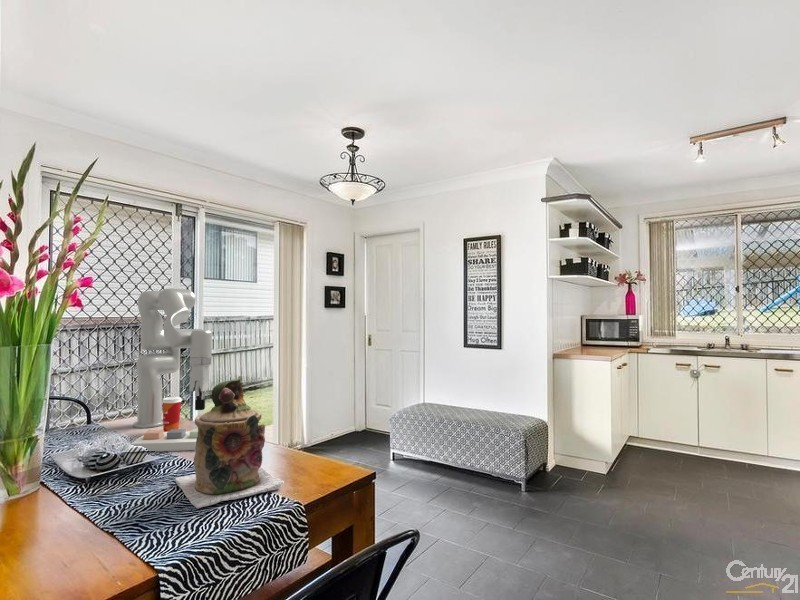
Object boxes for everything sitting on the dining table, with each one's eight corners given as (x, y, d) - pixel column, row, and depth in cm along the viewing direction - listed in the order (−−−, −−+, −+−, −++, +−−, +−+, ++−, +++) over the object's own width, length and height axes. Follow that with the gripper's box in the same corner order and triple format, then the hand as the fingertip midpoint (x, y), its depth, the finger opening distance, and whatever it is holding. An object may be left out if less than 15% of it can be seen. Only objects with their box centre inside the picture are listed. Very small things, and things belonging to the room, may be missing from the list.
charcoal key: (171, 435, 173) (171, 429, 173) (185, 435, 174) (185, 428, 174) (166, 439, 168) (166, 432, 168) (181, 438, 169) (181, 432, 169)
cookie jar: (172, 483, 133) (175, 375, 134) (253, 466, 149) (255, 369, 150) (196, 512, 114) (200, 386, 115) (286, 489, 130) (289, 378, 131)
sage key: (193, 434, 174) (193, 428, 175) (207, 434, 175) (207, 428, 175) (189, 438, 169) (189, 432, 169) (204, 438, 170) (204, 431, 170)
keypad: (147, 439, 177) (147, 432, 177) (216, 437, 181) (217, 430, 181) (130, 452, 161) (130, 443, 161) (206, 449, 165) (207, 441, 165)
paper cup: (161, 430, 191) (162, 397, 192) (181, 428, 194) (182, 396, 195) (160, 434, 184) (161, 400, 184) (180, 433, 187) (181, 399, 188)
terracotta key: (148, 436, 172) (149, 429, 172) (163, 435, 173) (163, 429, 173) (143, 440, 167) (143, 433, 167) (158, 439, 167) (158, 433, 168)
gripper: (195, 360, 180) (194, 406, 179) (184, 363, 165) (183, 414, 164) (215, 359, 181) (214, 405, 180) (206, 363, 166) (205, 413, 166)
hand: (199, 409), depth 172 cm, fingers closed
